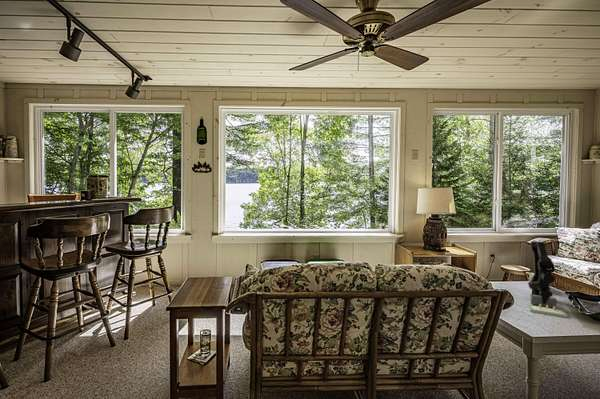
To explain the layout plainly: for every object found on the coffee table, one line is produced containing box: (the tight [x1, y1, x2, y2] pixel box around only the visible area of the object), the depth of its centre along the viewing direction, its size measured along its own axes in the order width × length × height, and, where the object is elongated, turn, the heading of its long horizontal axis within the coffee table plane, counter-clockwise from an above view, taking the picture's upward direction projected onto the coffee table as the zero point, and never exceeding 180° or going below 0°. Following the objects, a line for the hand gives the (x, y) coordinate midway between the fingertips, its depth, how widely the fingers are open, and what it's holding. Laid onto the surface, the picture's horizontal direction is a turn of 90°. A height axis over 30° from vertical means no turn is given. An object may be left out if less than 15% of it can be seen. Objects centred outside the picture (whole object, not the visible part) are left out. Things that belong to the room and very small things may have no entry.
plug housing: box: [529, 293, 558, 309], centre depth 210 cm, size 5×13×5 cm, turn 62°
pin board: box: [527, 304, 568, 319], centre depth 198 cm, size 9×18×4 cm, turn 62°
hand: (543, 302), depth 210 cm, fingers closed on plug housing, 5 cm apart
